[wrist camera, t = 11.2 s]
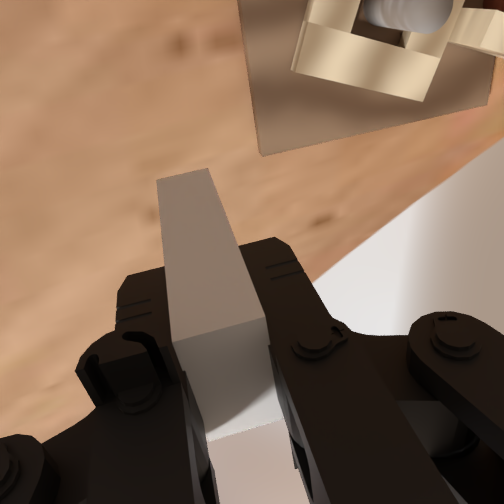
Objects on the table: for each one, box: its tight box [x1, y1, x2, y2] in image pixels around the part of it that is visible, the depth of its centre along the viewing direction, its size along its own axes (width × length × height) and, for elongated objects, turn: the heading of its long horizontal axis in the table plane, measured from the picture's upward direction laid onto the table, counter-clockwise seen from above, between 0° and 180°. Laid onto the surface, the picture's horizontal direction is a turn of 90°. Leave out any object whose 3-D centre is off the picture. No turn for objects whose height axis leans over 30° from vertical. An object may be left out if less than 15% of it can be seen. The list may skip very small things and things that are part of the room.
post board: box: [237, 0, 504, 157], centre depth 30 cm, size 20×22×8 cm
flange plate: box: [291, 0, 504, 102], centre depth 31 cm, size 19×12×5 cm, turn 76°
